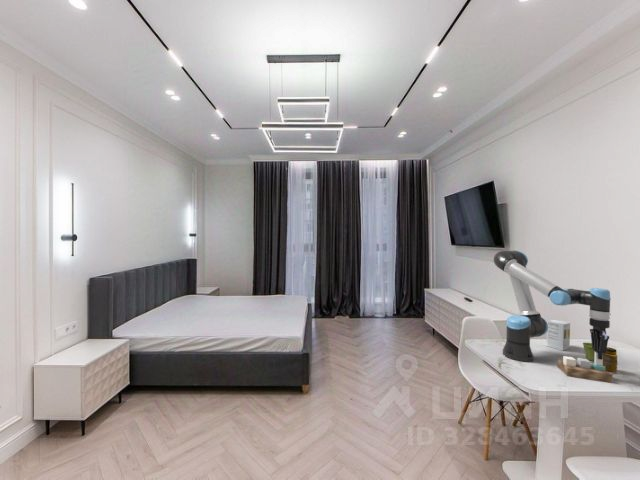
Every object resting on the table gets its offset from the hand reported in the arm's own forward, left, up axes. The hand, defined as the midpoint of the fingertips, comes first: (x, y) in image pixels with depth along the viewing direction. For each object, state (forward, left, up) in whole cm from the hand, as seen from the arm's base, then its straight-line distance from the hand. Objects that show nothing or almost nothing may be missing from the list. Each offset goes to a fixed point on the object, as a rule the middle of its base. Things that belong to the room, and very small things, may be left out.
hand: (598, 364), depth 150 cm
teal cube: (0, 0, -4) cm, 4 cm away
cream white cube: (-12, 0, -3) cm, 12 cm away
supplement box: (-2, +44, -6) cm, 44 cm away
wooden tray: (-6, 0, -6) cm, 9 cm away
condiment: (+9, +12, -6) cm, 16 cm away
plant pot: (+9, +27, -6) cm, 29 cm away
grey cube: (-6, 0, -3) cm, 7 cm away
